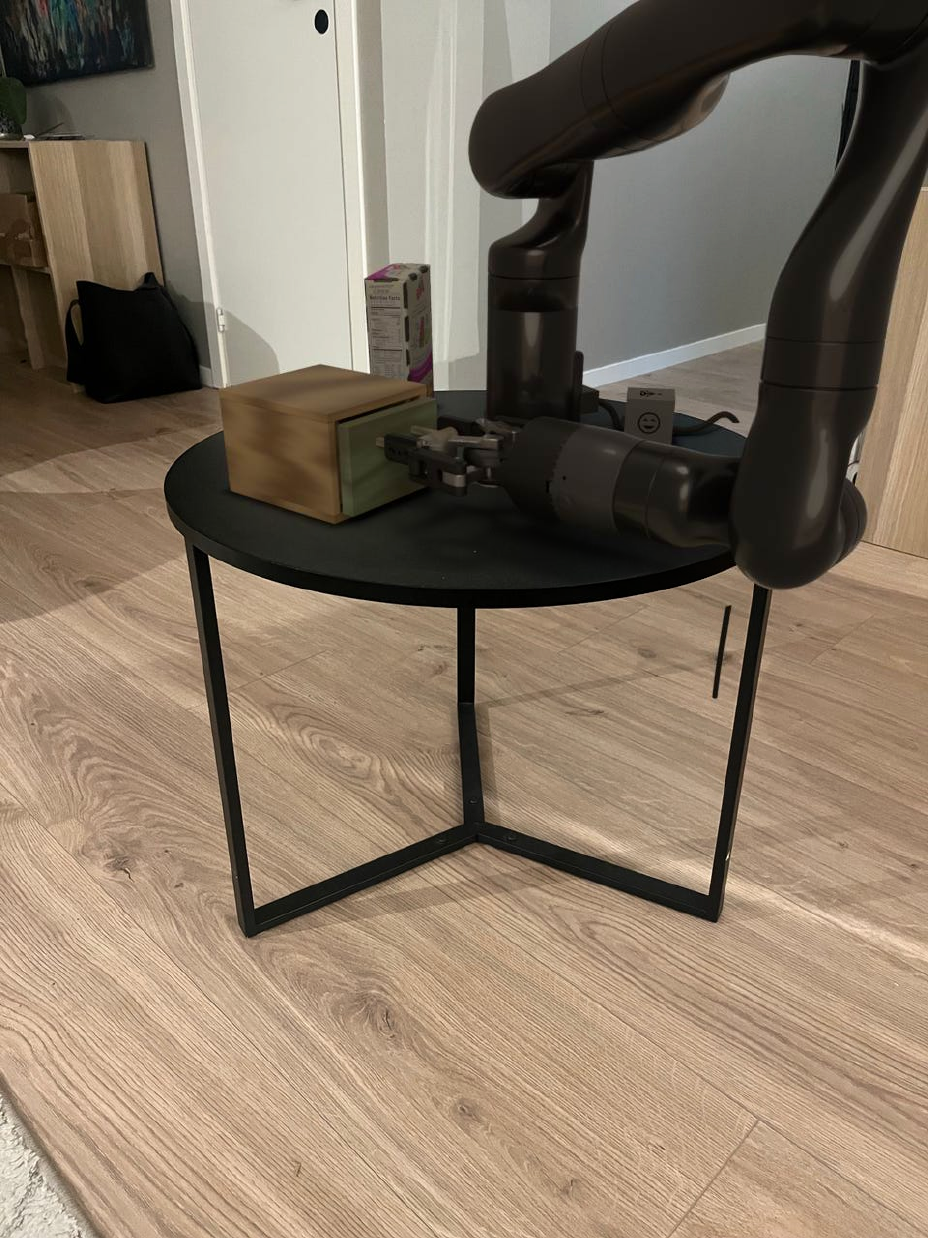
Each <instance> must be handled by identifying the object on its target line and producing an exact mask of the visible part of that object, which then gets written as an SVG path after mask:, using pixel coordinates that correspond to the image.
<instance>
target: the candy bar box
mask: <svg viewBox="0 0 928 1238" xmlns="http://www.w3.org/2000/svg"><path fill="white" fill-rule="evenodd" d="M431 265H432V264H428V263H413V262H412V263H411V262H410V263H408V262H407V263H403V262H398V263H391V264H389V265H387V266H385V267H383V268H381V269H379V270H378V271H376V272H373V273H372V274H370V275H368V276H366V277H364V278H363V285H364V286H363V287H364V297H365V300H364V302H365V304H364V305H365V319H366V335H367V347H368V362H369V363H368V365H369V374H374V375H379V376H384V377H390V378H395V379H400V380H405V381H410V382H415V383H420V384H426V394H427V397H430V398H435V383H434V381H435V378H434V377H435V375H434V347H433V342H434V341H433V340H434V339H433V313H432V311H433V310H432V281H431V279H432V278H431Z"/></svg>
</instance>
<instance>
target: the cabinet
mask: <svg viewBox="0 0 928 1238" xmlns="http://www.w3.org/2000/svg"><path fill="white" fill-rule="evenodd" d="M218 396H219V405H220V413H221V420H222V421H221V422H222V430H223V438H224V447H225V456H226V466H227V472H228V481H229V487H230V492H232V493H235V494H239V495H242V496H245V497H248V498H251V499H254V500H258V501H260V502H263V503H266V504H270V505H272V506H276V507H279V508H282V509H285V510H288V511H292V512H294V513H297V514H301V515H304V516H307V517H310V518H313V519H317V520H319V521H324V522H325V523H329V524H331V525H332V524H333V525H336V524H339V523H341V522H344V521H346V520H349V519H351V518H352V517H351V516H348V515H345V514H343V503H342V504H340V501H339V485H338V470H337V454H336V439H335V423H334V422H335V421H338V420H341V419H344V418H348V417H351V416H354V415H357V414H361V413H364V412H367V411H370V410H373V409H377V408H380V407H383V406H386V405H390V404H393V403H396V402H399V401H402V400H406V399H409V398H411V402H412V401H415V400H418V399H422V398H425V397H427V394H426V384H420V383H415V382H410V381H405V380H400V379H395V378H390V377H384V376H379V375H374V374H370V372H369V373H368V372H363V371H358V370H353V369H348V368H342V367H337V366H332V365H328V364H321V363H318V364H315V365H311V366H306V367H302V368H299V369H294V370H291V371H286V372H281V373H279V374H278V373H277V374H274V375H270V376H265V377H262V378H258V379H253V380H250V381H246V382H242V383H238V384H234V385H229V386H226V387H222V388H219V389H218Z"/></svg>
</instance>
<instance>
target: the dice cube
mask: <svg viewBox="0 0 928 1238" xmlns="http://www.w3.org/2000/svg"><path fill="white" fill-rule="evenodd" d="M625 401H626V402H625V414H624V416H625V426H624V433H627V434H630V435H633V436H635V437H638V438H641V439H645V440H648V441H654V442H659V443H664V444H669V445H672V439H673V432H672V430H673V426H674V421H675V409H676V389H675V388H661V387H660V388H657V387H637V386H635V387H634V386H627V392H626V400H625Z"/></svg>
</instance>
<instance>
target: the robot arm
mask: <svg viewBox="0 0 928 1238" xmlns="http://www.w3.org/2000/svg"><path fill="white" fill-rule="evenodd" d="M785 56H787V57H788V56H807V57H809V56H810V57H819V58H820V57H821V58H829V59H839V60H840V59H842V60H852V61H859V80H858V92H857V100H856V106H855V112H854V117H853V121H852V125H851V129H850V132H849V136H848V140H847V142H846V145H845V148H844V150H843V153H842V155H841V157H840V159H839V162H838V164H837V166H836V168H835V171H834V172H833V175H832V177H831V178H830V181H829V183H828V184H827V186H826V188H825V190H824V192H823V193H822V195H821V197H820V199H819V200H818V202H817V204H816V205H815V207H814V209H813V211H812V212H811V214H810V215H809V217H808V219H807V220H806V221H805V223H804V225H803V227H802V229H801V230H800V232H799V233H798V235H797V236H796V239H795V241H794V242H793V244H792V246H791V248H790V249H789V251H788V253H787V255H786V257H785V259H784V261H783V263H782V265H781V267H780V270H779V272H778V274H777V277H776V279H775V282H774V286H773V288H772V290H771V291H772V292H771V295H770V299H769V301H768V302H769V303H768V307H767V313H766V319H765V325H764V332H763V333H764V334H763V335H764V337H763V344H762V353H761V361H760V369H759V380H758V388H757V402H756V409H755V413H754V416H753V420H752V421H751V422H752V423H751V425H750V428H749V431H748V434H747V437H746V440H745V442H744V447H743V450H742V453H741V456H740V455H739V456H736V455H720V454H711V453H706V452H702V451H697V450H695V449H691V448H687V447H683V446H677V445H674V444H671V445H669V444H664V443H659V442H654V441H648V440H645V439H641V438H638V437H635V436H633V435H630V434H627V433H624V426H625V415H623V416H621V417H620V418H619V415H618V412H617V411H616V409H615V408H614V406H613V405H611V404H610V403H609V402H607V401H606V400H605V399H602V398H600V393H601V392H600V390H599V389H596V388H594V387H591V386H588V385H587V384H584V382H583V381H584V380H583V379H584V363H585V355H584V353H583V352H582V351H581V350H578V349H577V345H578V343H577V342H578V325H579V323H578V321H579V303H580V302H579V301H580V285H581V284H580V282H581V267H582V257H583V255H584V254H583V253H584V250H585V247H586V245H587V244H586V242H587V239H588V230H589V219H590V209H591V208H590V207H591V199H592V198H591V197H592V189H593V180H594V171H595V162H596V161H601V160H607V159H613V158H619V157H624V156H630V155H634V154H639V153H641V152H645V151H648V150H650V149H652V148H655V147H658V146H660V145H663V144H665V143H667V142H669V141H672V140H674V139H677V138H678V137H680V136H683V135H685V134H686V133H688V132H689V131H691V130H693V129H694V128H696V127H697V126H699V125H701V124H702V123H704V121H705V120H706V119H707V118H708V117H709V116H710V115H711V114H712V113H713V111H714V110H715V109H716V107H717V106H718V104H719V102H720V101H721V100H722V98H723V97H724V93H725V92H726V89H727V87H728V84H729V81H730V77H731V74H732V73H735V72H737V71H739V70H742V69H744V68H746V67H749V66H751V65H753V64H757V63H760V62H763V61H767V60H770V59H774V58H778V57H779V58H780V57H785ZM476 111H477V112H476V113H475V115H474V118H473V121H472V123H471V127H470V129H469V136H468V141H467V158H468V163H469V167H470V171H471V174H472V175H473V178H474V179H475V181H476V183H477V184H478V186H479V187H480V188H481V189H482V190H483V191H485V193H487V194H489V195H490V196H492V197H495V198H499V199H503V200H508V201H509V200H511V201H512V200H513V201H514V200H537V204H536V208H535V211H534V214H533V215H532V216H531V217H530V218H529V219H528V220H527V221H526V222H525V223H524V224H523V225H521V226H520V227H519V228H516V229H515V230H514V231H512V232H510V233H508V234H506V235H504V236H502V237H500V238H498V239H496V240H494V241H493V242H491V244H489V247H488V250H487V264H486V265H487V268H486V270H487V271H486V272H487V273H486V274H487V275H486V304H487V305H486V360H485V361H486V363H485V364H486V365H485V366H486V370H485V371H486V372H485V375H486V377H485V378H486V379H485V380H486V381H485V409H484V410H483V418H479V419H476V420H473V419H468V418H463V417H458V416H454V415H449V414H443V415H439V416H437V430H438V431H439V430H442V429H444V428H447V427H453V428H454V429H455V430H456V431H457V432H458V436H450V437H449V438H448V439H447V441H429V440H423V439H419V438H415V437H411V436H406V435H402V434H398V433H394V432H393V433H390V434H387V435H385V436H384V452H385V457H386V459H387V460H389V461H393V462H397V463H401V464H405V465H409V473H408V479H409V480H410V481H412V482H415V483H418V484H421V485H424V486H427V487H426V488H430V489H432V490H436V491H439V492H441V493H445V494H447V495H450V496H452V497H458V498H462V497H465V496H467V495H468V485H470V484H476V485H477V484H478V485H479V486H481V487H483V488H492V489H498V488H503V489H504V491H505V492H506V493H507V495H508V497H509V498H510V501H511V503H512V504H513V506H515V507H516V508H517V510H519V511H521V512H524V513H527V514H529V515H533V516H537V517H542V518H545V519H549V520H553V521H557V522H559V523H564V524H566V525H567V524H568V525H571V526H575V527H578V528H582V529H586V530H590V531H593V532H594V531H595V532H600V533H606V534H607V533H609V534H617V535H620V536H626V537H629V538H630V537H631V538H634V539H636V540H641V541H644V542H645V541H646V542H648V543H652V544H655V545H659V546H663V547H668V548H672V549H673V548H674V549H694V548H700V547H703V546H711V545H715V546H717V545H719V546H726V547H728V548H729V551H730V554H731V557H732V559H733V561H734V563H735V565H736V567H737V568H738V569H739V571H740V572H741V573H742V574H743V575H744V576H745V577H746V578H747V579H748V580H749V581H751V582H752V583H754V584H755V585H757V586H759V587H762V588H764V589H767V590H773V591H791V590H795V589H798V588H802V587H805V586H807V585H809V584H812V583H814V582H815V581H816V580H818V579H819V578H821V577H822V576H824V575H825V574H826V573H827V572H828V571H830V570H831V569H832V568H834V567H836V565H838V564H839V563H840V562H842V561H843V560H844V559H846V558H847V557H848V556H849V555H850V554H852V553H853V552H854V551H855V550H856V549H857V547H858V546H859V544H860V543H861V541H862V540H863V537H864V536H865V533H866V531H867V530H866V529H867V526H868V507H867V503H866V501H865V498H864V496H863V494H862V493H861V491H860V490H859V489H858V487H857V486H856V484H854V483H853V481H851V479H849V478H847V474H848V470H849V465H850V461H851V455H852V451H853V448H854V445H855V443H856V441H857V439H858V437H859V436H860V435H861V433H862V432H863V431H864V430H865V428H866V427H867V425H868V423H869V421H870V420H871V416H872V413H873V412H874V411H873V410H874V407H875V403H876V399H877V394H878V385H879V383H880V376H881V371H882V363H883V358H884V351H885V346H886V340H887V335H888V334H887V332H888V327H889V326H888V325H889V321H890V314H891V308H892V303H893V297H894V292H895V286H896V281H897V277H898V273H899V268H900V264H901V259H902V255H903V251H904V247H905V243H906V239H907V236H908V233H909V229H910V226H911V222H912V219H913V217H914V213H915V210H916V206H917V203H918V200H919V197H920V194H921V191H922V188H923V185H924V181H925V178H926V176H927V173H928V0H637V1H634V2H633V3H631V4H630V5H628V6H627V7H625V8H624V9H623V10H622V11H620V12H618V13H617V14H616V15H614V16H613V17H612V18H610V19H609V20H608V21H606V22H605V23H604V24H602V25H601V26H599V28H597V29H596V30H595V31H593V32H592V34H590V35H589V36H588V37H586V38H585V39H584V40H582V41H581V42H579V43H577V44H576V45H574V46H573V47H571V48H570V49H569V50H567V51H566V52H564V53H562V54H561V55H560V56H559V57H557V58H556V59H555V60H553V61H552V62H550V63H549V64H548V65H546V66H545V67H543V68H541V69H540V70H538V71H537V72H534V73H533V74H531V75H529V76H527V77H525V78H523V79H520V80H518V81H516V82H514V83H511V84H509V85H508V84H507V85H506V86H503V87H501V88H499V89H496V90H494V91H493V92H491V94H489V95H488V96H487V97H486V98H485V99H484V100H483V102H482V103H481V105H480V106H479V107H478V110H476ZM599 406H600V407H602V408H603V409H604V410H605V411H607V413H608V414H609V416H610V418H611V422H612V426H613V427H614V428H613V429H611V428H607V427H601V426H596V425H591V424H586V423H581V415H587V414H593V413H598V412H599ZM721 419H727V420H728V421H730V422H731V423H732V424H740V423H741V422H740V420H739V418H738V417H737V416H736V415H735V414H733V413H732V412H730V411H727V410H722V411H719V412H717V413H715V414H714V415H712V416H710V417H709V418H708V419H706V420H704V421H705V422H704V421H702V422H701V423H699V424H696V425H690V426H677V425H673V430H672V433H674V434H692V433H698V432H701V431H704V430H705V429H707V428H709V427H711V426H712V425H714V424H715V423H717V422H718V421H719V420H721ZM458 448H463V450H462V458H461V457H460V456H458ZM433 451H438V453H436V452H433ZM442 453H443V454H442ZM732 607H733V606H732V604H730V605H725V607H724V613H723V618H722V624H721V631H720V638H719V643H718V651H717V657H716V662H715V671H714V678H713V686H712V695H711V698H712V699H714V700H717V699H718V697H719V690H720V689H719V688H720V683H721V682H720V681H721V674H722V667H723V660H724V654H725V648H726V642H727V635H728V629H729V623H730V619H731V618H730V617H731V611H732Z"/></svg>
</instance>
